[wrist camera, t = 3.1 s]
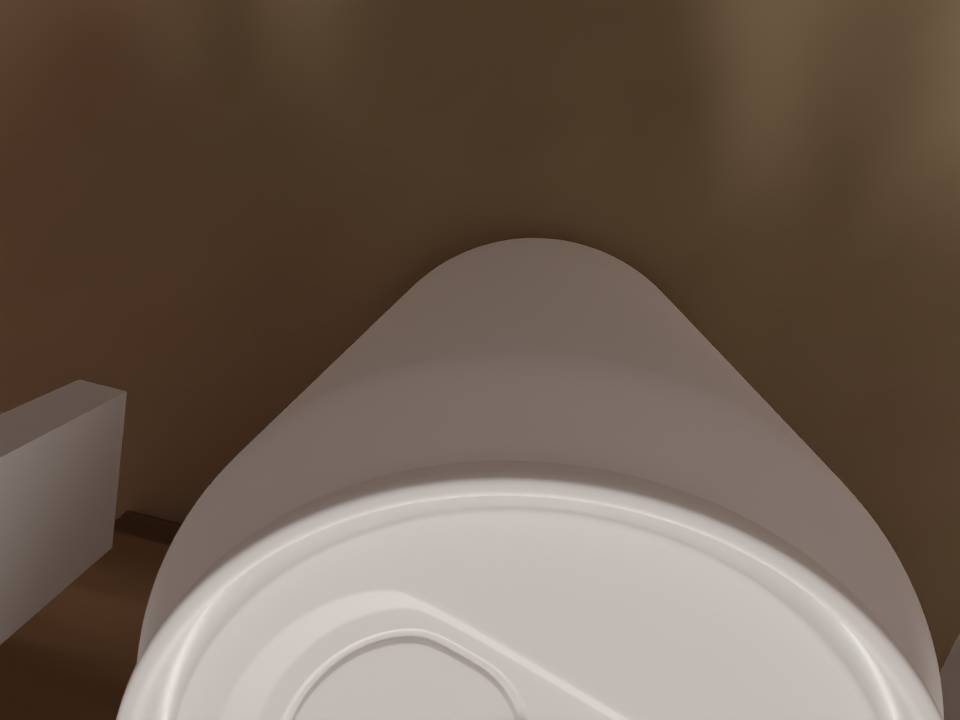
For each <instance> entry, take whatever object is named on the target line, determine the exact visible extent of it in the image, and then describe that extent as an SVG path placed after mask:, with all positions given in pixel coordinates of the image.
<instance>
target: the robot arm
mask: <svg viewBox="0 0 960 720" xmlns="http://www.w3.org/2000/svg"><path fill="white" fill-rule="evenodd" d="M126 398H127V391H124V390H120V389H116V388H112V387H108V386H104V385H100V384H96V383H92V382H88V381H84V380H80V379H79V380H76V381H74V382H72V383H70V384H67V385H65V386H63V387H60V388H58V389H56V390H54V391H51V392H49V393H47V394H45V395H42V396H40V397H38V398H36V399H33V400H31V401H29V402H26V403H24V404H22V405H20V406H17V407H15V408H13V409H11V410H8V411H6V412H4V413H2V414H0V645H1V644H2V643H3V642H4V641H5V640H7V639H8V638H9V637H10V636H11V635H12V634H13V633H15V632H16V631H17V630H18V629H19V628H20V627H22V626H23V625H24V624H25V623H26V622H27V621H28V620H30V619H31V618H32V617H33V616H34V615H35V614H36V613H38V612H39V611H40V610H41V609H42V608H43V607H44V606H46V605H47V604H48V603H49V602H50V601H51V600H53V599H54V598H55V597H56V596H57V595H58V594H59V593H61V592H62V591H63V590H64V589H65V588H66V587H67V586H69V585H70V584H71V583H72V582H73V581H74V580H76V579H77V578H78V577H79V576H80V575H81V574H82V573H84V572H85V571H86V570H87V569H88V568H89V567H90V566H92V565H93V564H94V563H95V562H96V561H97V560H98V559H100V558H101V557H102V556H103V555H104V554H105V553H107V552H108V551H109V550H110V549H111V548H112V544H113V534H114V523H115V513H116V502H117V492H118V481H119V471H120V461H121V450H122V440H123V429H124V419H125V409H126ZM940 679H941V688H942V697H943V709H944V720H960V632H959V634H958V636H957V638H956V640H955V642H954V644H953V647H952V649H951V651H950V653H949V655H948V657H947V659H946V661H945V663H944V665H943V667H942V669H941V671H940Z"/></svg>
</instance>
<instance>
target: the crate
mask: <svg viewBox="0 0 960 720" xmlns="http://www.w3.org/2000/svg"><path fill="white" fill-rule="evenodd" d="M180 527H181V524H177V523H173V522H169V521H165V520H161V519H157V518H153V517H149V516H145V515H141V514H137V513H133V512H129V511H127V512H126V513H124V514H123V515H122V516H121V517H120V518H119V519H117V520H116V521H115V523H114V534H113V544H112V548H111V549H110V550H109V551H108V552H107V553H105V554H104V555H103V556H102V557H101V558H100V559H98V560H97V561H96V562H95V563H94V564H93V565H92V566H90V567H89V568H88V569H87V570H86V571H85V572H84V573H82V574H81V575H80V576H79V577H78V578H77V579H76V580H74V581H73V582H72V583H71V584H70V585H69V586H67V587H66V588H65V589H64V590H63V591H62V592H61V593H59V594H58V595H57V596H56V597H55V598H54V599H53V600H51V601H50V602H49V603H48V604H47V605H46V606H44V607H43V608H42V609H41V610H40V611H39V612H38V613H36V614H35V615H34V616H33V617H32V618H31V619H30V620H28V621H27V622H26V623H25V624H24V625H23V626H22V627H20V628H19V629H18V630H17V631H16V632H15V633H13V634H12V635H11V636H10V637H9V638H8V639H7V640H5V641H4V642H3V643H2V644H1V645H0V720H116V718H117V714H118V711H119V707H120V704H121V701H122V698H123V695H124V692H125V689H126V687H127V684H128V682H129V679H130V677H131V675H132V673H133V670H134V668H135V666H136V664H137V656H138V648H139V641H140V636H141V630H142V624H143V620H144V616H145V611H146V608H147V604H148V601H149V598H150V594H151V591H152V588H153V585H154V582H155V580H156V577H157V574H158V571H159V569H160V567H161V565H162V562H163V560H164V558H165V555H166V553H167V551H168V549H169V547H170V545H171V543H172V541H173V539H174V537H175V536H176V534H177V532H178V530H179V529H180Z"/></svg>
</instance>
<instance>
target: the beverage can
mask: <svg viewBox="0 0 960 720" xmlns="http://www.w3.org/2000/svg"><path fill="white" fill-rule="evenodd" d="M116 720H944V709H943V697H942V688H941V679H940V673H939V667H938V662H937V658H936V653H935V649H934V645H933V641H932V637H931V634H930V631H929V627H928V624H927V621H926V618H925V615H924V613H923V610H922V607H921V605H920V602H919V600H918V597H917V595H916V593H915V590H914V588H913V586H912V584H911V581H910V579H909V577H908V575H907V573H906V571H905V570H904V568H903V566H902V564H901V562H900V560H899V558H898V556H897V555H896V553H895V551H894V550H893V548H892V546H891V545H890V543H889V541H888V540H887V538H886V537H885V535H884V534H883V532H882V531H881V529H880V528H879V526H878V525H877V523H876V522H875V521H874V519H873V518H872V517H871V515H870V514H869V513H868V512H867V510H866V509H865V508H864V506H863V505H862V504H861V503H860V502H859V501H858V499H857V498H856V497H855V496H854V495H853V494H852V493H851V491H850V490H849V489H848V488H847V487H846V486H845V485H844V484H843V482H842V481H841V480H840V479H839V478H838V477H837V476H836V475H835V474H834V473H833V472H832V471H831V470H830V469H829V468H828V466H827V465H826V464H825V463H824V462H823V461H822V460H821V459H820V458H819V457H818V456H817V455H816V454H815V453H814V452H813V451H812V450H811V449H810V447H809V446H808V445H807V444H806V443H805V442H804V441H803V440H802V439H801V438H800V437H799V436H798V435H797V434H796V433H795V432H794V431H793V430H792V429H791V427H790V426H789V425H788V424H787V423H786V422H785V421H784V420H783V419H782V418H781V417H780V416H779V415H778V414H777V413H776V412H775V411H774V410H773V408H772V407H771V406H770V405H769V404H768V403H767V402H766V401H765V400H764V399H763V398H762V397H761V396H760V395H759V394H758V393H757V392H756V391H755V390H754V388H753V387H752V386H751V385H750V384H749V383H748V382H747V381H746V380H745V379H744V378H743V377H742V376H741V375H740V374H739V373H738V372H737V371H736V370H735V368H734V367H733V366H732V365H731V364H730V363H729V362H728V361H727V360H726V359H725V358H724V357H723V356H722V355H721V354H720V353H719V352H718V351H717V350H716V348H715V347H714V346H713V345H712V344H711V343H710V342H709V341H708V340H707V339H706V338H705V337H704V336H703V335H702V334H701V333H700V332H699V331H698V329H697V328H696V327H695V326H694V325H693V324H692V323H691V322H690V321H689V320H688V319H687V318H686V317H685V316H684V315H683V314H682V313H681V312H680V311H679V309H678V308H677V307H676V306H675V305H674V304H673V303H672V302H671V301H670V300H669V299H668V298H667V297H666V296H665V295H664V294H663V293H662V292H661V291H660V290H659V289H658V288H657V287H656V286H655V285H654V284H653V283H652V282H651V281H650V280H648V279H647V278H646V277H645V276H643V275H642V274H641V273H640V272H638V271H637V270H635V269H634V268H632V267H631V266H629V265H628V264H626V263H624V262H623V261H621V260H619V259H617V258H615V257H613V256H611V255H609V254H607V253H605V252H602V251H600V250H597V249H595V248H592V247H589V246H585V245H582V244H578V243H574V242H569V241H564V240H557V239H548V238H520V239H511V240H504V241H499V242H494V243H490V244H486V245H483V246H480V247H477V248H474V249H471V250H468V251H466V252H464V253H461V254H459V255H457V256H455V257H453V258H451V259H449V260H448V261H446V262H444V263H443V264H441V265H439V266H438V267H436V268H435V269H433V270H432V271H431V272H429V273H428V274H427V275H425V276H424V277H423V278H422V279H420V280H419V281H418V282H417V283H416V284H415V285H414V286H413V287H412V288H411V289H409V290H408V291H407V292H406V293H405V294H404V295H403V296H402V297H401V298H400V299H399V300H398V301H397V302H396V303H395V304H394V305H393V306H392V307H391V308H390V309H389V310H388V311H386V312H385V313H384V314H383V315H382V316H381V317H380V318H379V319H378V320H377V321H376V322H375V323H374V324H373V325H372V326H371V327H370V328H369V329H368V330H367V331H366V332H365V333H364V334H363V335H361V336H360V337H359V338H358V339H357V340H356V341H355V342H354V343H353V344H352V345H351V346H350V347H349V348H348V349H347V350H346V351H345V352H344V353H343V354H342V355H341V356H340V357H339V358H338V359H336V360H335V361H334V362H333V363H332V364H331V365H330V366H329V367H328V368H327V369H326V370H325V371H324V372H323V373H322V374H321V375H320V376H319V377H318V378H317V379H316V380H315V381H314V382H313V383H311V384H310V385H309V386H308V387H307V388H306V389H305V390H304V391H303V392H302V393H301V394H300V395H299V396H298V397H297V398H296V399H295V400H294V401H293V402H292V403H291V404H290V405H289V406H287V407H286V408H285V409H284V410H283V411H282V412H281V413H280V414H279V415H278V416H277V417H276V418H275V419H274V420H273V421H272V422H271V423H270V424H269V425H268V426H267V427H266V428H265V429H264V430H262V431H261V432H260V433H259V434H258V435H257V436H256V437H255V438H254V439H253V440H252V441H251V442H250V443H249V444H248V445H247V446H246V447H245V448H244V449H243V450H242V451H241V452H240V453H239V454H238V455H237V456H236V457H235V458H234V459H233V460H232V461H231V462H230V463H229V464H228V465H227V466H226V467H225V468H224V469H223V470H222V471H221V472H220V473H219V474H218V476H217V477H216V478H215V479H214V480H213V481H212V483H211V484H210V485H209V486H208V487H207V489H206V490H205V491H204V493H203V494H202V495H201V497H200V498H199V499H198V501H197V502H196V503H195V505H194V506H193V508H192V509H191V511H190V512H189V514H188V515H187V517H186V519H185V520H184V522H183V524H182V525H181V527H180V529H179V530H178V532H177V534H176V536H175V537H174V539H173V541H172V543H171V545H170V547H169V549H168V551H167V553H166V555H165V558H164V560H163V562H162V565H161V567H160V569H159V571H158V574H157V577H156V580H155V582H154V585H153V588H152V591H151V594H150V598H149V601H148V604H147V608H146V611H145V616H144V620H143V624H142V630H141V636H140V641H139V648H138V656H137V664H136V666H135V668H134V670H133V673H132V675H131V677H130V679H129V682H128V684H127V687H126V689H125V692H124V695H123V698H122V701H121V704H120V707H119V711H118V714H117V718H116Z"/></svg>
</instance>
